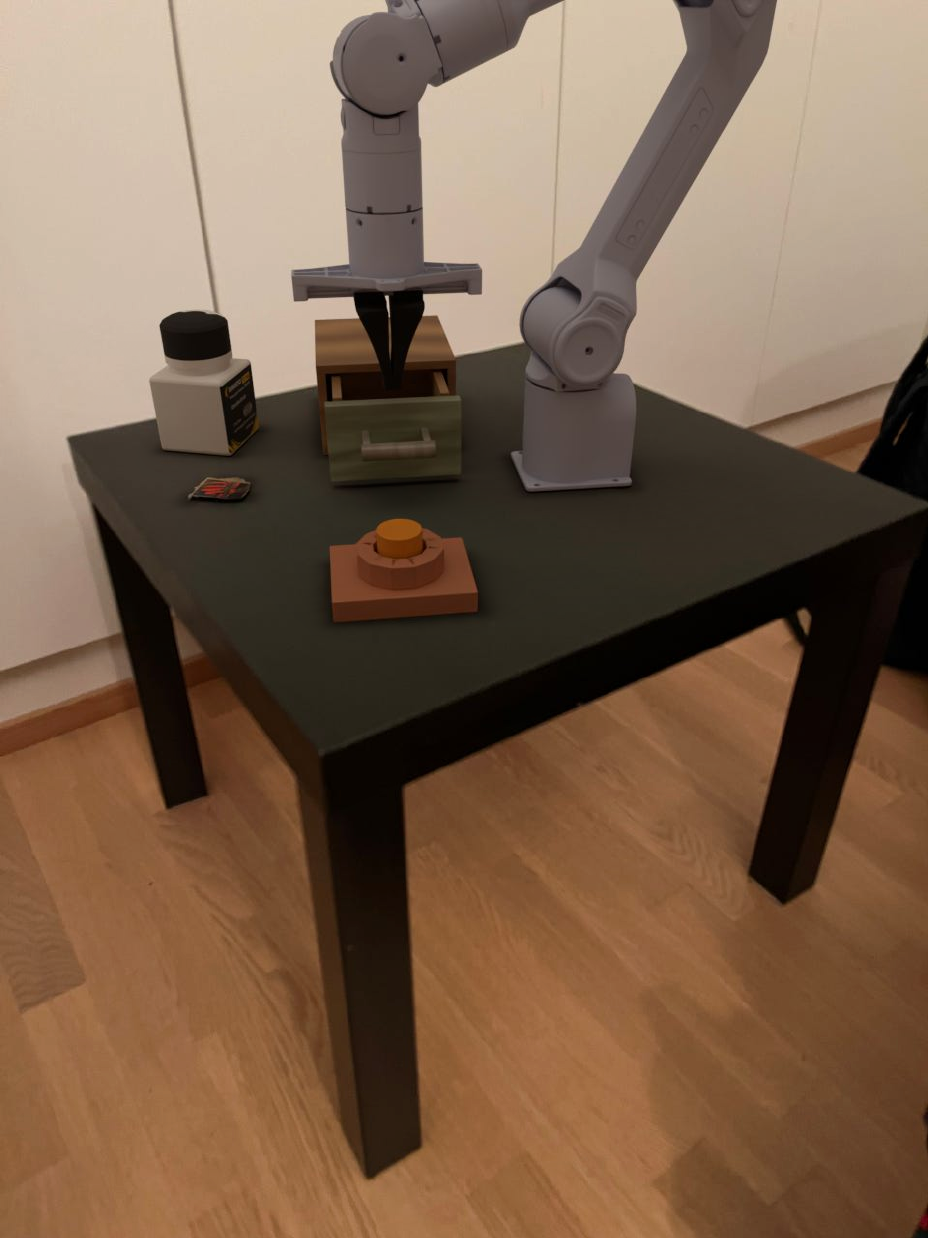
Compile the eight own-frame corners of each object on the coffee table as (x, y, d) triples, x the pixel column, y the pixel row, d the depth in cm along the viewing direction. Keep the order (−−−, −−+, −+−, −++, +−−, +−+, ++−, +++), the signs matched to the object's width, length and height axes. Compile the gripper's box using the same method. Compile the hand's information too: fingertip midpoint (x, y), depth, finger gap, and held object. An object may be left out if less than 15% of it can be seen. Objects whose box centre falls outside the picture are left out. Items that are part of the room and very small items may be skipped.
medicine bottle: (231, 457, 87) (212, 328, 81) (160, 451, 88) (136, 323, 82) (260, 428, 93) (245, 306, 86) (193, 423, 94) (173, 302, 88)
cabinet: (456, 448, 89) (456, 359, 84) (323, 455, 88) (315, 365, 83) (438, 395, 101) (437, 314, 96) (321, 400, 100) (314, 319, 95)
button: (420, 538, 68) (419, 516, 67) (424, 560, 65) (424, 538, 64) (376, 541, 67) (374, 519, 66) (378, 563, 65) (377, 541, 64)
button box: (462, 556, 72) (462, 515, 70) (477, 612, 65) (478, 569, 63) (331, 565, 70) (327, 523, 69) (333, 623, 64) (329, 579, 62)
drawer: (469, 497, 78) (469, 420, 74) (332, 506, 77) (325, 427, 73) (442, 418, 93) (442, 350, 89) (328, 423, 92) (322, 355, 88)
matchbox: (248, 501, 79) (247, 496, 79) (186, 504, 79) (185, 499, 78) (252, 478, 83) (252, 473, 83) (193, 480, 83) (193, 475, 82)
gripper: (284, 220, 65) (302, 407, 72) (490, 214, 67) (487, 398, 74) (285, 202, 71) (302, 377, 78) (474, 197, 72) (473, 369, 80)
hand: (392, 385), depth 76 cm, fingers closed
